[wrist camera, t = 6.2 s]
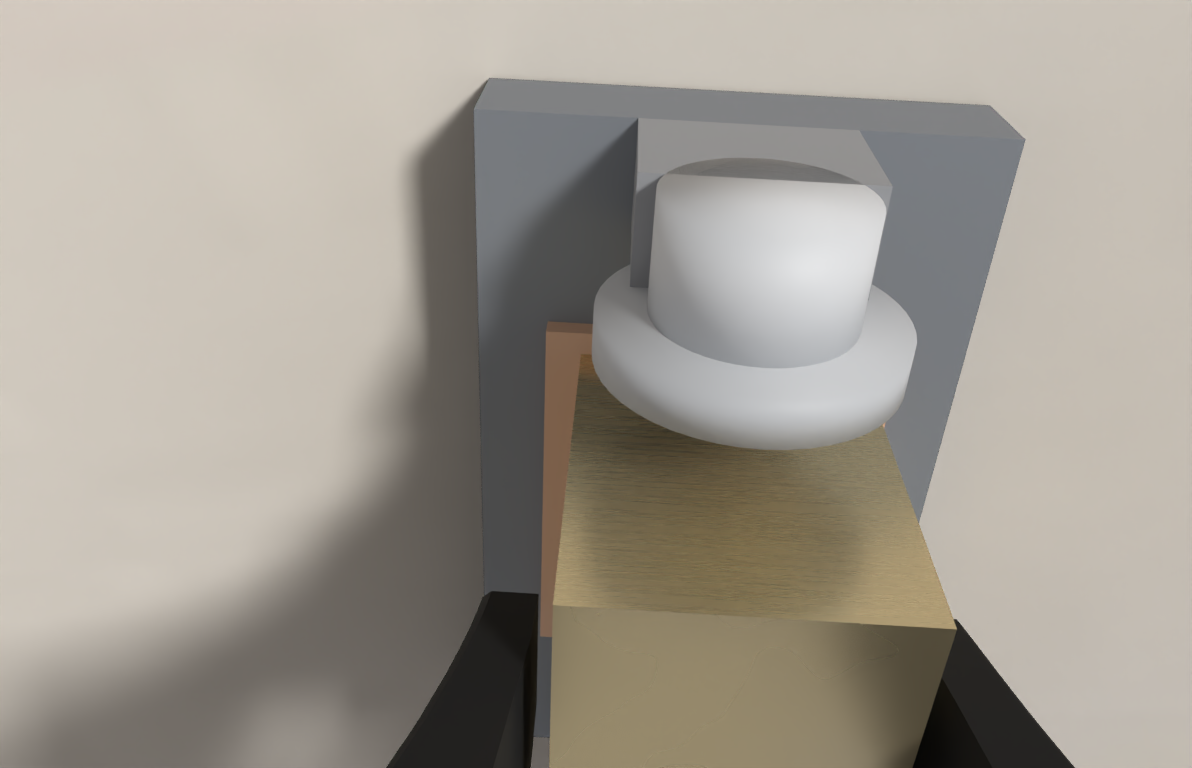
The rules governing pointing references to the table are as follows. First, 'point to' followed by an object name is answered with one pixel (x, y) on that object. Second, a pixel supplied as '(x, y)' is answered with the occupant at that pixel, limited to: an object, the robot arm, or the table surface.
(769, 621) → the coupling block
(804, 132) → the stand
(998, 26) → the table surface
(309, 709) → the table surface
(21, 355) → the table surface
